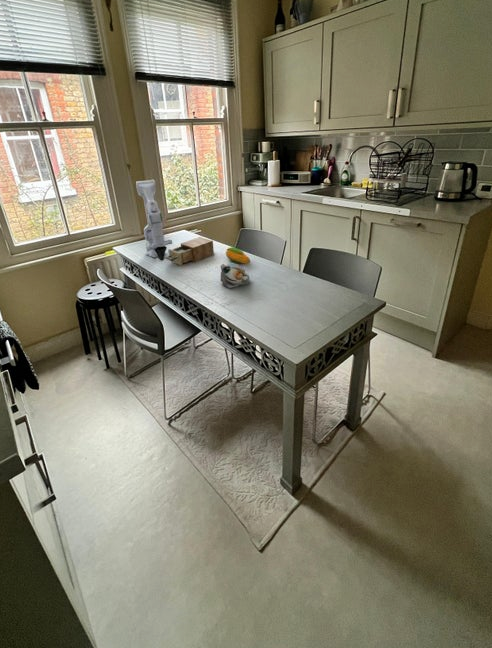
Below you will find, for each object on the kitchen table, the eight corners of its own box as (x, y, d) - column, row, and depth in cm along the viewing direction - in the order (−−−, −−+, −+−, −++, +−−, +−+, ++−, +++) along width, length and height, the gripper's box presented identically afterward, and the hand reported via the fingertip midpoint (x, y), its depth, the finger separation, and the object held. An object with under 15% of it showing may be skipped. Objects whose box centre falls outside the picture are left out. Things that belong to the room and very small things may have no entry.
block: (176, 258, 177) (175, 251, 175) (182, 256, 180) (181, 249, 178) (181, 260, 174) (180, 253, 172) (187, 258, 177) (186, 251, 175)
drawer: (174, 267, 168) (172, 256, 166) (163, 263, 175) (161, 251, 172) (199, 258, 180) (198, 246, 177) (188, 254, 186) (187, 243, 184)
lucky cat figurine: (254, 279, 152) (256, 261, 141) (242, 298, 146) (243, 280, 135) (227, 267, 157) (227, 248, 145) (214, 284, 150) (213, 266, 139)
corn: (232, 242, 180) (255, 251, 165) (233, 255, 184) (256, 264, 169) (221, 246, 176) (244, 256, 162) (223, 259, 180) (245, 269, 165)
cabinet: (194, 262, 177) (193, 247, 173) (182, 257, 184) (180, 243, 181) (214, 254, 186) (212, 240, 183) (201, 250, 194) (199, 237, 190)
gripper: (150, 240, 155) (154, 266, 160) (174, 233, 164) (177, 257, 169) (142, 237, 159) (146, 262, 165) (166, 231, 168) (169, 254, 174)
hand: (161, 259), depth 167 cm, fingers closed
